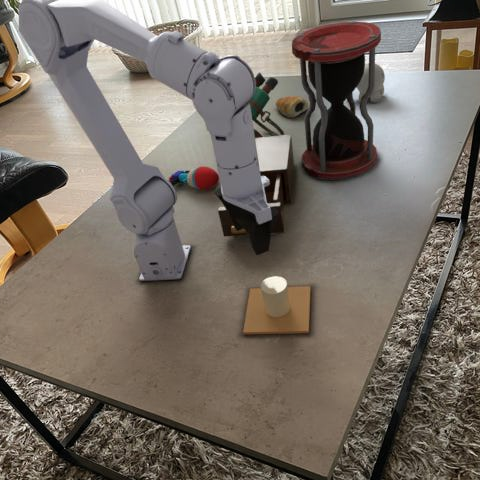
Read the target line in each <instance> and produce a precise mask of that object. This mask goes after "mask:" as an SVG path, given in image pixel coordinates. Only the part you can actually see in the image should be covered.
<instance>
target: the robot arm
mask: <svg viewBox="0 0 480 480" xmlns="http://www.w3.org/2000/svg"><path fill="white" fill-rule="evenodd" d="M18 32H19V33H20V35H21V36H22V38H23V40H24V41H25V42H26V44H27V46H28V47H29V49H30V51H31V52H32V54H33V55H34V57H35V59H36V60H37V62H38V63H39V66H40V67H41V68H42V69H43V71H44V72H45V74H47V75H48V77H49V79H51V81H52V83H53V85H54V86H55V88H56V89H57V91H58V92H59V94H60V95H61V97H62V99H63V101H64V102H65V104H66V105H67V107H68V108H69V110H70V112H71V113H72V115H73V116H74V118H75V120H76V121H77V123H78V124H79V126H80V127H81V129H82V130H83V132H84V134H85V135H86V137H87V138H88V140H89V141H90V143H91V145H92V146H93V148H94V150H95V151H96V153H97V154H98V157H100V159H101V161H102V162H103V164H104V165H105V167H106V169H107V170H108V172H109V173H110V174H111V176H112V178H113V181H112V186H111V190H110V194H109V201H110V202H111V204H112V205H113V207H114V210H115V212H116V215H117V218H118V221H119V222H120V224H121V225H122V226H123V227H124V228H125V229H126V230H127V231H129V232H131V233H133V234H135V245H134V249H133V256H134V258H135V260H136V263H137V265H138V268H139V270H140V275H139V277H138V280H139V281H141V282H146V281H147V282H150V281H168V280H180V279H182V277H183V274H184V271H185V267H186V265H187V261H188V258H189V255H190V252H191V249H192V246H191V245H189V244H184V245H183V244H182V240H181V237H180V234H179V231H178V230H179V229H178V227H177V224H176V222H175V217H174V214H175V212H176V211H175V209H174V206H175V205H176V203H177V202H178V195H177V191H176V189H175V186H172V184H171V183H170V182H169V181H168V180H169V179H167V178H166V177H165V176H164V175H163V173H162V172H161V170H160V168H159V167H158V166H157V165H151V164H147V163H144V162H143V161H142V159H141V157H140V156H139V154H138V152H137V151H136V149H135V147H134V145H133V144H132V142H131V140H130V138H129V137H128V135H127V133H126V132H125V130H124V128H123V127H122V125H121V123H120V122H119V120H118V118H117V116H116V115H115V113H114V112H113V110H112V107H111V106H110V104H109V103H108V100H107V99H106V98H105V96H104V94H103V92H102V91H101V89H100V87H99V85H98V84H97V82H96V80H95V78H94V77H93V75H92V73H91V72H90V70H89V68H88V58H89V51H90V50H91V48H92V46H93V44H94V42H95V40H96V41H98V42H99V43H102V44H104V45H106V46H108V47H111V48H113V49H115V50H117V51H118V52H121V53H123V54H126V55H127V56H130V57H131V58H134V59H136V60H138V61H140V62H143V63H145V65H146V69H147V71H148V74H149V76H150V77H151V78H152V79H154V80H155V81H157V82H159V83H161V84H163V85H164V86H166V87H167V88H170V89H171V90H173V91H175V92H177V93H178V94H180V95H182V96H184V97H185V98H188V99H189V100H191V101H192V105H193V107H194V109H195V110H196V112H197V113H198V114H199V116H200V117H201V118H202V120H203V122H204V125H205V129H206V131H207V132H208V133H209V135H210V139H211V144H212V148H213V152H214V157H215V163H216V167H217V173H218V175H219V182H220V187H218V188H216V189H215V190H214V191H213V192H214V195H215V196H216V197H217V199H219V201H220V202H221V203H222V206H223V207H225V209H226V210H227V212H228V215H229V217H230V219H231V221H232V223H233V225H234V227H235V229H236V230H237V231H239V230H241V229H245V231H246V233H247V235H246V236H247V237H248V239H249V242H250V246H251V249H252V250H253V252H254V254H255V255H256V256H260V255H263V254H265V253H268V252H269V251H270V248H271V247H270V246H271V240H272V230H273V227H274V225H275V223H276V221H277V219H278V218H279V213H278V211H277V210H276V209H275V208H274V207H272V208H270V206H269V205H268V204H267V201H266V195H265V190H264V188H265V187H266V186H268V185H269V184H270V182H269V179H268V178H267V177H266V176H261V174H260V168H259V161H258V154H257V148H256V141H255V135H254V129H255V128H254V121H253V120H252V114H251V108H250V103H248V104H246V103H247V102H248V101H249V100H250V99H251V97H252V96H253V94H254V92H255V88H256V81H255V77H256V76H255V74H254V72H253V70H252V68H251V66H250V65H249V64H248V63H247V62H246V61H245V60H243V59H242V58H241V57H240V56H239V55H237V54H226V55H225V56H224V55H223V56H220V55H218V54H216V53H214V52H212V51H207V50H205V49H204V48H201V47H200V46H197V45H195V44H194V43H192V42H191V41H188V40H186V39H185V38H184V36H185V35H184V34H183V33H182V32H181V31H178V30H174V31H168V30H167V31H163V32H161V33H160V34H158V35H157V34H155V33H153V32H152V31H150V30H149V29H148V28H146V27H145V26H143V25H141V23H139V22H137V21H135V20H134V19H132V18H131V17H129V16H128V15H126V14H125V13H123V12H122V11H120V10H119V9H117V8H116V7H114V6H113V5H111V4H109V3H108V2H106V1H104V0H22V1H21V2H20V3H19V6H18ZM249 211H250V214H249Z"/></svg>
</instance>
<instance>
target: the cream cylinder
mask: <svg viewBox="0 0 480 480" xmlns="http://www.w3.org/2000/svg"><path fill="white" fill-rule="evenodd" d="M288 287H289V286H288V281H287V280H286V278H285V277H282V276H279V275H273V276H269V277H266V278H265V279H264V280H262V282H261V284H260V288H261V291H262V296H263V302H264V307H265V312H266V313H267V314H268V315H269V316H271V317H281V316H284V315H286V314H287V313H288V312H289V310H290V302H289V294H288Z"/></svg>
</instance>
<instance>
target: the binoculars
mask: <svg viewBox="0 0 480 480" xmlns="http://www.w3.org/2000/svg"><path fill="white" fill-rule="evenodd" d="M254 77H255V81H256V88H255V92H254V94H253V96H252V97H251V99H250V100H249V101H248V102H247V103H246V104H248V103H250V108H251V114H252V121H253V123H255V124H256V125H257V126H258V127H260V128H261V129H262V130H264V131H265V132H267V133H268V134H270V135H272V136H280V135H286V134H285V132H284V130H283V129H282V128H281V127H280V125H278V124H277V123H276V122H275V121H274V120H272V119H271V117H270V116H271V112H270V111H267V110H264V108H265V107H266V105H267V104H268V103H269V101H270V99H271V98H270V93H271V92H272V91H274V89H275V88H276V86H277V85H278V84H279V81H278V79H277V78H276V77H273V76H272V77H271V76H270V77H268V78H267V80H266V78H265V77H264V76H263V74H262V73H261V72H258V73H257V75H255V76H254ZM261 86H263V87H262V88H260V87H261ZM266 114H268V115H267V116H266V117H265V118H264V116H265V115H266ZM258 117H260V120H261V122H260V121H259V120H258ZM263 118H264V119H263ZM266 122H267V123H268V124H270V125H271V126H273V128H274V129H276V130H277V132H278V133H277V132H275V131H273V130H272V129H271V128H269V127H267V126H266V125H264V123H266ZM254 135H255V138H261V137H264V136H263V135H262V134H261V133H260V132H259V131H258V130H257V129H255V128H254Z"/></svg>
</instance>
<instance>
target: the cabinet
mask: <svg viewBox="0 0 480 480" xmlns="http://www.w3.org/2000/svg"><path fill="white" fill-rule="evenodd" d="M279 135H280V136H273V135H272V136H263V137H261V138H255V141H256V148H257V154H258V161H259V168H260V174H261V175H267V174H278V173H282V176H283V185H284V200H283V205H284V204H285V205H286V204H292V203H291V202H292V195H293V194H292V193H293V184H294V175H295V159H294V149H293V138H292V134H285V135H281V134H279Z"/></svg>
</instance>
